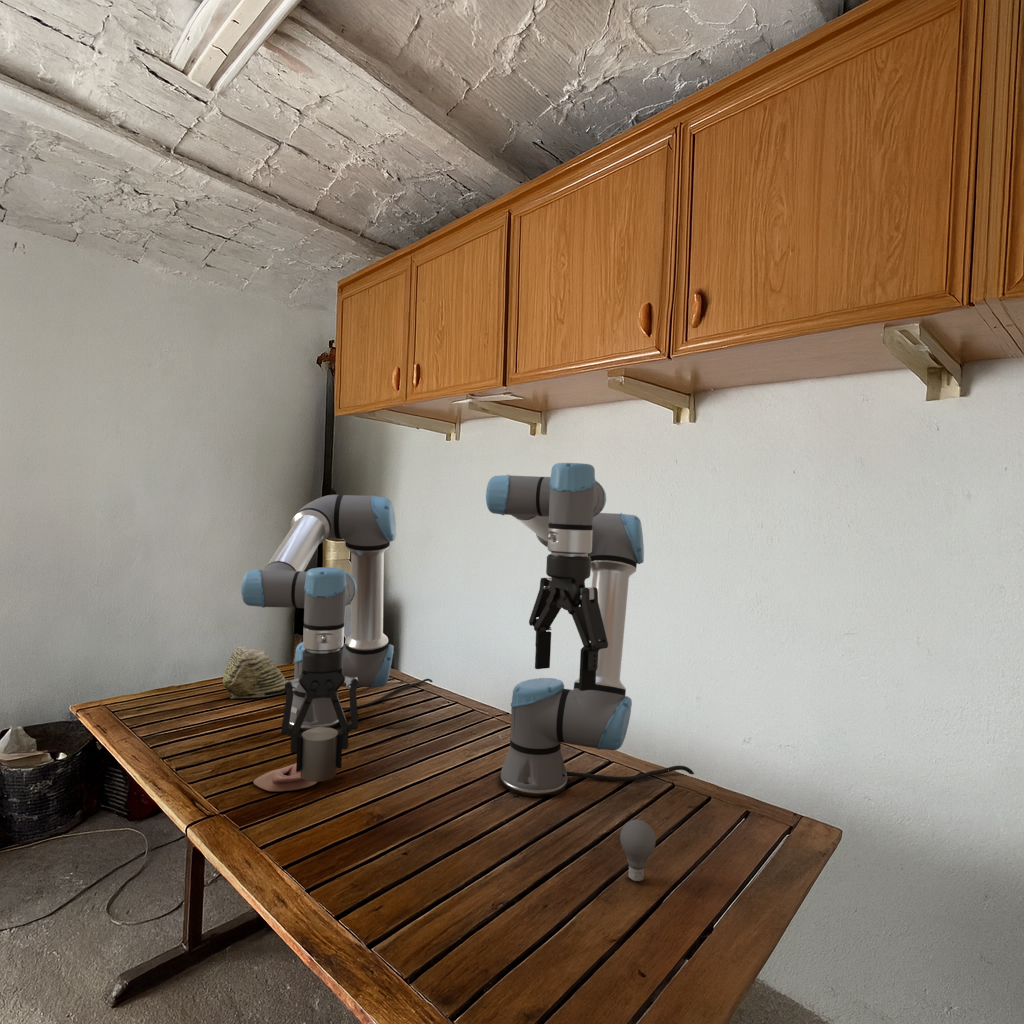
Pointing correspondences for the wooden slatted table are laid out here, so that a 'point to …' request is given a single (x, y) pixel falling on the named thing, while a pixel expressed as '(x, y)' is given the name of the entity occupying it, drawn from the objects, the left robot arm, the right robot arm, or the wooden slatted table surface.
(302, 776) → the can
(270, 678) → the fossil
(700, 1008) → the wooden slatted table surface
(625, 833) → the light bulb
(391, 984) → the wooden slatted table surface
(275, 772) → the anatomical model
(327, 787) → the wooden slatted table surface
